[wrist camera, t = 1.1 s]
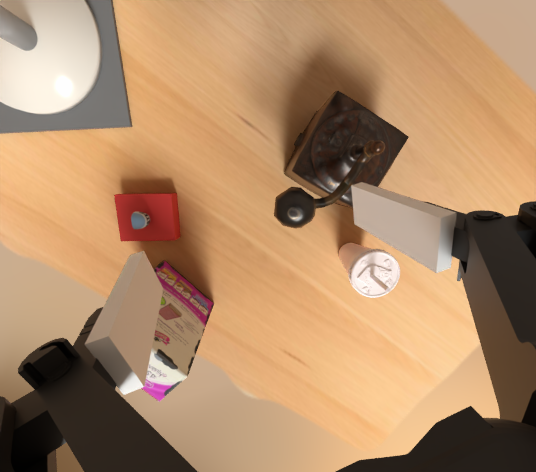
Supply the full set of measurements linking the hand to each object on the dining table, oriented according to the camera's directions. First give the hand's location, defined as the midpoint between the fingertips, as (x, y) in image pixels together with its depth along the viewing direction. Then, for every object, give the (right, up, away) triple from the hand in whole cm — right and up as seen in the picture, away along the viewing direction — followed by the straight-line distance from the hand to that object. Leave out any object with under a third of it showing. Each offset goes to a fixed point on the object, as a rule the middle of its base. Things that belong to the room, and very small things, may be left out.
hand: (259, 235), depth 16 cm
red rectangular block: (-17, +3, +24) cm, 30 cm away
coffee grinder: (+8, +10, +23) cm, 27 cm away
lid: (-31, +26, +18) cm, 44 cm away
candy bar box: (-14, -9, +27) cm, 32 cm away
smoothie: (+14, -3, +26) cm, 30 cm away
